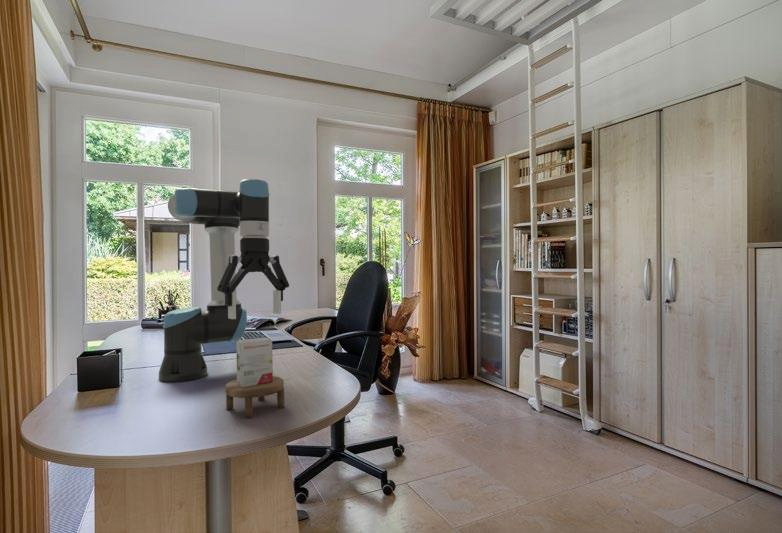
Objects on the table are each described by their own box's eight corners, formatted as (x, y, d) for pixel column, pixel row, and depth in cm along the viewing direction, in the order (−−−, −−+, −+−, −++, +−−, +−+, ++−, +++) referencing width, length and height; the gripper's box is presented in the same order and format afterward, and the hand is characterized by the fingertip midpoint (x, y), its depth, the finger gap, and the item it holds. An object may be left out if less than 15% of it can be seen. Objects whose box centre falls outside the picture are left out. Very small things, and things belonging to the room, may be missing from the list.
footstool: (215, 409, 116) (215, 384, 116) (264, 395, 127) (264, 372, 127) (244, 423, 106) (244, 395, 106) (295, 407, 117) (294, 382, 117)
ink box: (267, 378, 121) (267, 336, 121) (273, 382, 117) (273, 339, 116) (235, 383, 116) (235, 340, 116) (240, 388, 112) (240, 343, 112)
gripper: (216, 235, 104) (217, 322, 105) (301, 238, 123) (301, 312, 124) (202, 236, 109) (203, 319, 110) (285, 239, 128) (286, 310, 129)
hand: (255, 316), depth 117 cm, fingers open, 13 cm apart
